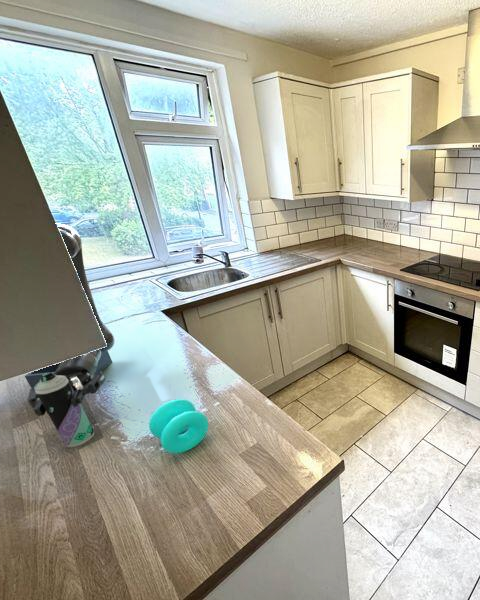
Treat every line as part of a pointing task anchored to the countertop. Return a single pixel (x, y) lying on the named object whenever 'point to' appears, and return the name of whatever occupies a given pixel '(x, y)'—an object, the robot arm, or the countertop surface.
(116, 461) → the countertop surface
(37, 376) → the bin
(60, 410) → the spray can
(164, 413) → the turquoise spool
